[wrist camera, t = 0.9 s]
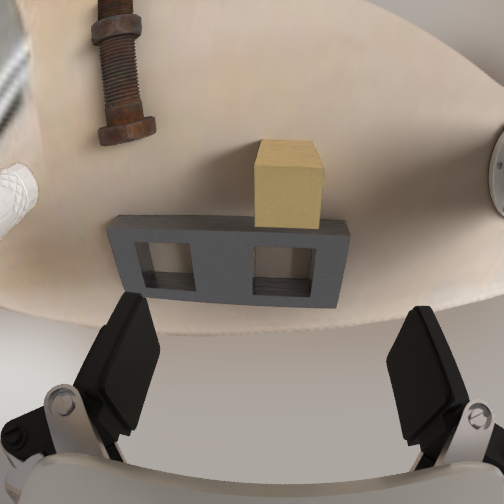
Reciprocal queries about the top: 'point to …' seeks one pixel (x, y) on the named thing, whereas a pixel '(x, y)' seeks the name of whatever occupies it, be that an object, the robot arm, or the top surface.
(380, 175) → the top surface
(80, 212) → the top surface
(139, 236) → the grey peg board
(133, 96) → the bolt
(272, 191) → the gold block
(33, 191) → the white cup
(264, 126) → the top surface
